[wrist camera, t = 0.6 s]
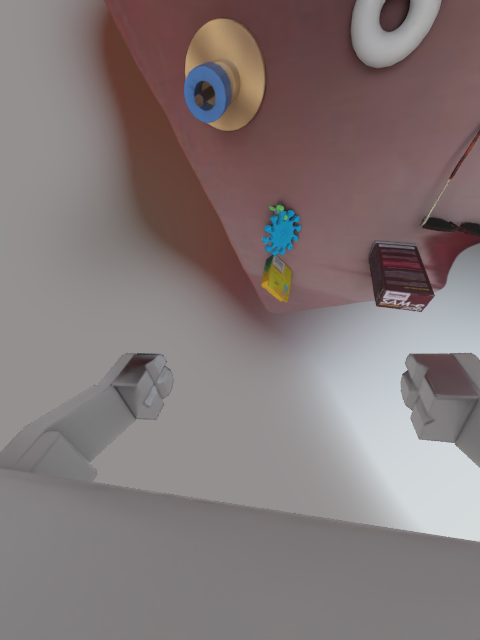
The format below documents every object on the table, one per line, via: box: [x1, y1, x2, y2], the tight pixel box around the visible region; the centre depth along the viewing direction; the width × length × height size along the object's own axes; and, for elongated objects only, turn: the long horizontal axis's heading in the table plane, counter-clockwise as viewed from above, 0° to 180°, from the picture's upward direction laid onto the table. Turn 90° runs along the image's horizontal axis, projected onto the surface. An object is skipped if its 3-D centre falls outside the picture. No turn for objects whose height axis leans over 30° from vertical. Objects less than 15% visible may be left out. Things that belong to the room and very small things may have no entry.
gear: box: [262, 205, 301, 256], centre depth 57 cm, size 11×6×10 cm
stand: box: [185, 18, 266, 131], centre depth 37 cm, size 13×13×14 cm
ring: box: [184, 62, 232, 123], centre depth 35 cm, size 6×6×4 cm
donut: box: [351, 0, 442, 68], centre depth 32 cm, size 10×4×10 cm
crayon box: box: [261, 255, 292, 303], centre depth 64 cm, size 7×3×12 cm, turn 48°
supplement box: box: [368, 241, 435, 312], centre depth 53 cm, size 9×5×16 cm, turn 92°
